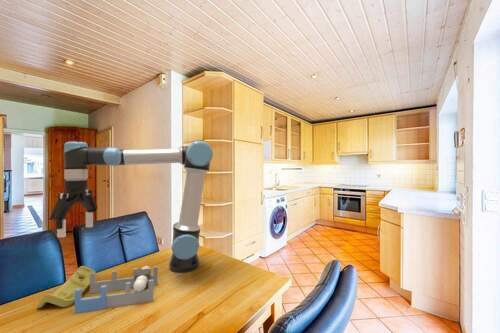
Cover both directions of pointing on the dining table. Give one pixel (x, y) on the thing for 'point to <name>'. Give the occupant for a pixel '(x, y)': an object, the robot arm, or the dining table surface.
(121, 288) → the blue peg rack
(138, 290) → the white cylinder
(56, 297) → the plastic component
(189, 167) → the robot arm
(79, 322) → the dining table surface
